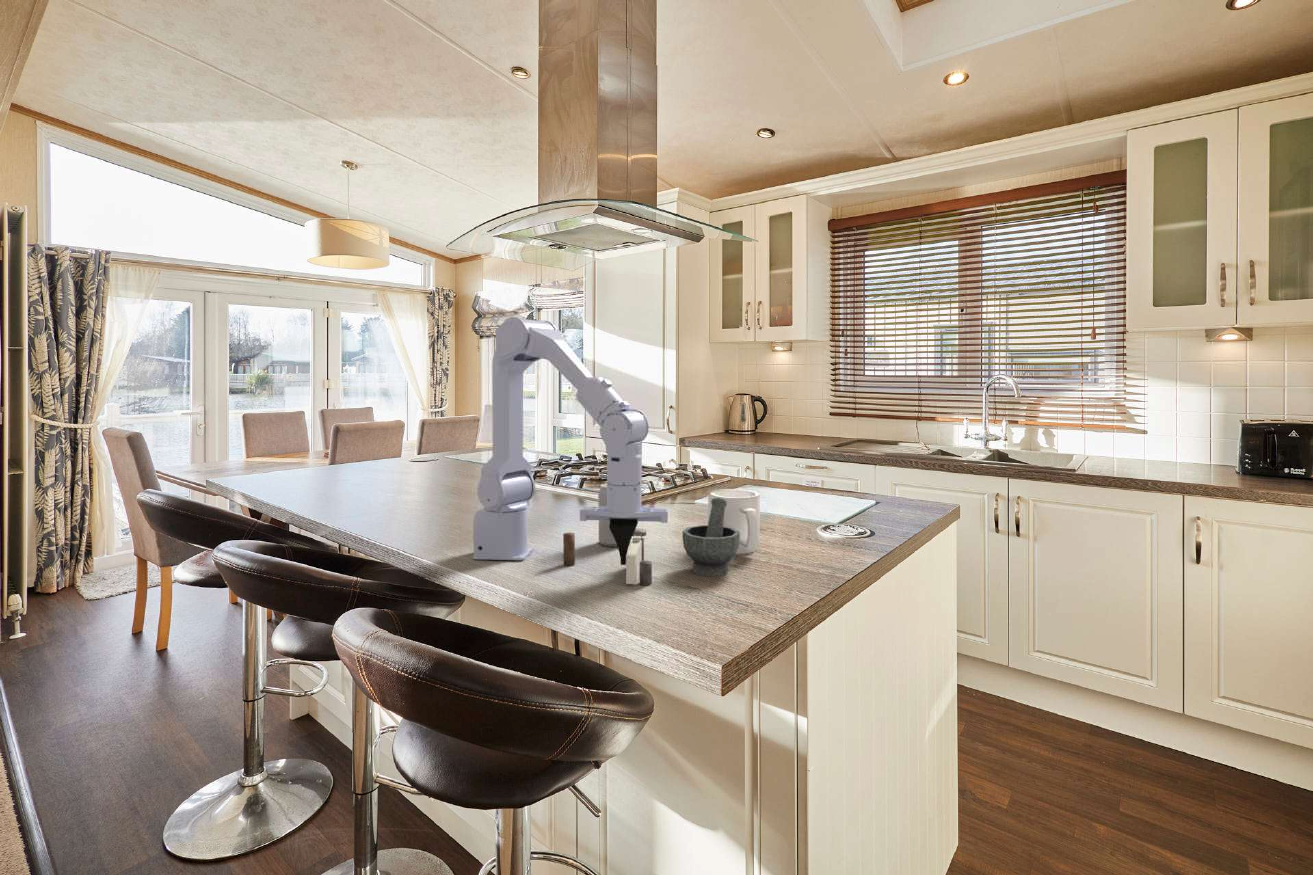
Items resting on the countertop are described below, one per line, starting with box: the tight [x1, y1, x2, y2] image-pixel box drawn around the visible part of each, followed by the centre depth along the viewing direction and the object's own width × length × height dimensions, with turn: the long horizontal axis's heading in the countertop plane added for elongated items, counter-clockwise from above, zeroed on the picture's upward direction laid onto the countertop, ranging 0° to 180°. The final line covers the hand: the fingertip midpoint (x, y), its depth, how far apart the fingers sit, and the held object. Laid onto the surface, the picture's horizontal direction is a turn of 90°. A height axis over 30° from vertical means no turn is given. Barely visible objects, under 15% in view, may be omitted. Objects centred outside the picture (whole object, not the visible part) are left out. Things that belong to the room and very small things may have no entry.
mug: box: [707, 488, 761, 555], centre depth 124 cm, size 14×10×11 cm
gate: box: [625, 527, 647, 585], centre depth 108 cm, size 12×3×6 cm, turn 175°
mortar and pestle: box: [682, 498, 740, 577], centre depth 111 cm, size 11×9×12 cm
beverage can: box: [598, 483, 618, 548], centre depth 127 cm, size 6×6×12 cm
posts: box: [562, 532, 653, 586], centre depth 108 cm, size 16×12×6 cm
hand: (623, 563), depth 107 cm, fingers closed
